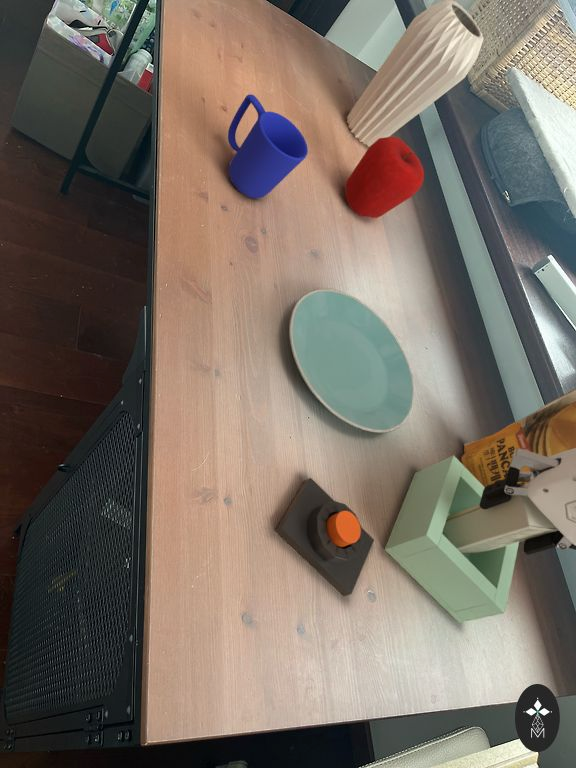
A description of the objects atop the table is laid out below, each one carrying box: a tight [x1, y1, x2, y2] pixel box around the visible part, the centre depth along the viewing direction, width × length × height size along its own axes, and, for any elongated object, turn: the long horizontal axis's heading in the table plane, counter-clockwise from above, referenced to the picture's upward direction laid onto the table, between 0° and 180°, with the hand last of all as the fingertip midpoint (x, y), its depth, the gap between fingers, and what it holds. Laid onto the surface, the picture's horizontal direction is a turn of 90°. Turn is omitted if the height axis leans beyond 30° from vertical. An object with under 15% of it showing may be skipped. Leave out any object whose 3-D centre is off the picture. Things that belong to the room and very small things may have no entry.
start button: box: [326, 511, 361, 547], centre depth 68 cm, size 4×4×2 cm
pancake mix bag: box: [460, 388, 576, 542], centre depth 83 cm, size 7×19×28 cm, turn 8°
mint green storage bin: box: [384, 455, 520, 624], centre depth 79 cm, size 14×14×7 cm
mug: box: [227, 93, 309, 199], centre depth 88 cm, size 8×12×10 cm
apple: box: [345, 136, 425, 219], centre depth 104 cm, size 11×10×14 cm
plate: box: [288, 288, 416, 434], centre depth 85 cm, size 22×22×3 cm
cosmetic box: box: [443, 495, 558, 554], centre depth 75 cm, size 6×4×12 cm
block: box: [275, 477, 375, 597], centre depth 70 cm, size 11×8×3 cm
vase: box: [346, 0, 485, 148], centre depth 113 cm, size 13×13×26 cm
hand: (505, 521), depth 74 cm, fingers closed on cosmetic box, 7 cm apart
